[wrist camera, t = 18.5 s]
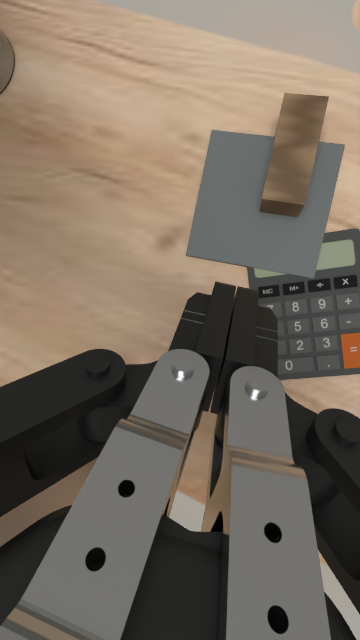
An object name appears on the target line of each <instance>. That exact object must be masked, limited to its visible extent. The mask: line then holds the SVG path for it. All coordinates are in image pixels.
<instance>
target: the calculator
mask: <svg viewBox="0 0 360 640" xmlns="http://www.w3.org/2000/svg"><path fill="white" fill-rule="evenodd" d="M247 270H248V278H249V287H250V289H252V290H257V291H259V302H258V306H261V307H265V308H270V309H272V311H273V313H274V314H275V316H276V318H277V319H278V331H277V333H278V340H277V342H278V379H279V380H285V379H298V378H311V377H325V376H338V375H351V374H360V231H359V229H349V230H342V231H336V232H329V233H324V237H323V241H322V246H321V250H320V254H319V259H318V263H317V267H316V272H315V276H314V278H308V277H303V276H297V275H292V274H286V273H280V272H275V271H269V270H264V269H258V268H254V267H248V266H247Z"/></svg>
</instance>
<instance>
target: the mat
mask: <svg viewBox="0 0 360 640" xmlns="http://www.w3.org/2000/svg"><path fill="white" fill-rule="evenodd" d="M274 140H275V137H271V136H262V135H253V134H244V133H235V132H226V131H217V130H212V132H211V137H210V142H209V147H208V151H207V156H206V161H205V166H204V171H203V176H202V180H201V185H200V190H199V195H198V200H197V204H196V209H195V214H194V219H193V224H192V228H191V233H190V238H189V243H188V248H187V252H186V256H191V257H197V258H202V259H208V260H213V261H219V262H224V263H230V264H235V265H240V266H246V267H247V266H248V267H254V268H258V269H264V270H269V271H275V272H280V273H286V274H292V275H297V276H303V277H308V278H314V276H315V272H316V267H317V263H318V259H319V254H320V250H321V246H322V241H323V237H324V233H325V229H326V224H327V220H328V216H329V211H330V207H331V203H332V198H333V194H334V190H335V185H336V181H337V177H338V172H339V168H340V164H341V159H342V155H343V151H344V147H345V145H343V144H334V143H325V142H319V143H318V147H317V152H316V156H315V161H314V165H313V170H312V174H311V179H310V183H309V188H308V192H307V197H306V201H305V205H304V207H303V209H302V210H301V212H300V214H299V215H298V217H291V216H284V215H277V214H271V213H264V212H259V211H260V206H261V200H262V195H263V191H264V186H265V182H266V177H267V172H268V168H269V163H270V158H271V154H272V149H273V144H274Z"/></svg>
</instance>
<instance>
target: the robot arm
mask: <svg viewBox="0 0 360 640" xmlns="http://www.w3.org/2000/svg"><path fill="white" fill-rule="evenodd" d="M13 67H14V54H13V49H12V46H11V44H10V42H9V40H8V38H7V37H6V36H5V35H4V34H3V33H2V31H1V30H0V92H1V91H2V90H3V89H4V88H5V86H6V85H7V83H8V82H9V79H10V77H11V75H12V71H13ZM235 290H236V286H234V285H229V284H225V283H220V282H215V285H214V288H213V292H212V295H207V294H202V293H198V292H197V293H196V294H194V295H193V296H192V297H191V298H189V299H188V301H187V303H186V306H185V309H184V311H183V314H182V317H181V319H180V322H179V325H178V327H177V330H176V332H175V335H174V338H173V340H172V343H171V346H170V348H169V350H168V352H166V353H164V354H163V355H162V356H161V357H160V358H159V360H158V361H155V362H152V363H149V364H134V365H125V362H124V360H123V359H122V357H121V356H120V355H118V354H117V353H115V352H113V351H110V350H106V349H94V350H89V351H86V352H84V353H81V354H79V355H76V356H74V357H72V358H69V359H67V360H64V361H62V362H60V363H57V364H55V365H52V366H50V367H47V368H45V369H43V370H40V371H38V372H35V373H33V374H31V375H28V376H26V377H23V378H21V379H19V380H16V381H14V382H11V383H9V384H6V385H4V386H2V387H0V517H1V516H3V515H4V514H6V513H8V512H9V511H11V510H13V509H14V508H16V507H17V506H19V505H20V504H22V503H24V502H26V501H27V500H29V499H30V498H32V497H34V496H35V495H37V494H38V493H40V492H42V491H43V490H45V489H46V488H48V487H50V486H52V485H53V484H55V483H56V482H58V481H60V480H61V479H63V478H64V477H66V476H68V475H69V474H71V473H73V472H74V471H76V470H78V469H79V468H81V467H82V466H84V465H85V464H87V463H89V462H91V461H92V460H94V459H95V458H97V457H98V459H97V461H96V463H95V464H94V466H93V469H92V470H91V472H90V474H89V476H88V477H87V479H86V481H85V483H84V485H83V487H82V488H81V490H80V492H79V494H78V496H77V498H76V499H75V501H74V503H73V505H70V506H67V507H64V508H62V509H59V510H57V511H54V512H52V513H50V514H49V515H47V516H45V517H43V518H41V519H40V520H38V521H37V522H35V523H34V524H32V525H31V526H29V527H28V528H26V529H25V530H24V531H22V532H21V533H19V534H18V535H17V536H15V537H14V538H12V539H11V540H10V541H8V542H7V543H5V544H4V545H2V546H1V547H0V640H356V638H355V637H354V635H353V633H352V631H351V630H350V628H349V626H348V624H347V623H346V621H345V620H344V618H343V616H342V615H341V613H340V612H339V610H338V609H337V608H336V606H335V605H334V603H333V602H332V601H331V599H330V598H329V597H328V596H327V594H326V593H325V592H324V589H323V582H322V575H321V568H320V562H319V555H318V550H319V552H320V553H321V555H322V556H323V558H324V559H325V561H326V563H327V564H328V566H329V567H330V569H331V570H332V572H333V573H334V575H335V576H336V578H337V579H338V581H339V582H340V584H341V586H342V587H343V589H344V591H345V592H346V594H347V595H348V597H349V598H350V600H351V601H352V603H353V605H354V606H355V607H356V609H357V611H358V612H359V614H360V419H359V418H358V417H356V416H355V415H353V414H351V413H349V412H347V411H344V410H340V409H333V408H332V409H326V410H323V411H321V412H320V413H319V414H317V413H315V412H313V411H311V410H309V409H307V408H305V407H304V406H302V405H300V404H298V403H297V402H295V401H294V400H292V399H291V398H290V397H289V396H288V395H287V394H286V393H285V391H284V387H283V385H282V383H281V382H280V380H279V379H278V342H277V340H278V333H277V331H278V319H277V318H276V316H275V314H274V313H273V311H272V309H270V308H265V307H261V306H258V302H259V291H257V290H252V289H248V288H243V287H239V286H238V288H237V291H236V295H235ZM234 296H235V298H234ZM233 301H234V302H233ZM214 389H215V390H214ZM213 392H214V395H213ZM212 396H213V401H212V406H211V411H210V412H211V413H215V414H218V415H217V421H216V426H215V429H214V433H213V436H212V444H211V455H210V466H209V477H208V489H207V499H206V507H205V512H204V517H203V522H202V530H201V532H194V531H189V530H187V529H186V528H184V527H183V526H181V525H180V524H178V523H176V522H175V521H173V520H172V519H170V518H169V514H170V511H171V508H172V504H173V500H174V497H175V493H176V491H177V487H178V484H179V481H180V478H181V475H182V471H183V468H184V465H185V462H186V459H187V456H188V452H189V449H190V446H191V443H192V440H193V437H194V433H195V431H196V430H197V428H198V426H199V423H200V419H201V415H202V411H207V412H208V410H209V407H210V403H211V399H212Z"/></svg>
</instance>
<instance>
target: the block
mask: <svg viewBox="0 0 360 640" xmlns="http://www.w3.org/2000/svg"><path fill="white" fill-rule="evenodd" d="M328 98H329V97H326V96H314V95H302V94H290V93H284V98H283V103H282V107H281V112H280V117H279V121H278V126H277V131H276V135H275V140H274V144H273V149H272V154H271V158H270V163H269V168H268V172H267V177H266V182H265V186H264V191H263V195H262V200H261V206H260V211H259V212H264V213H271V214H277V215H284V216H291V217H298V215H299V214H300V212H301V210H302V209H303V207H304V205H305V201H306V197H307V192H308V188H309V183H310V179H311V174H312V170H313V165H314V161H315V156H316V152H317V147H318V143H319V138H320V134H321V129H322V125H323V120H324V116H325V111H326V107H327V102H328Z"/></svg>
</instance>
